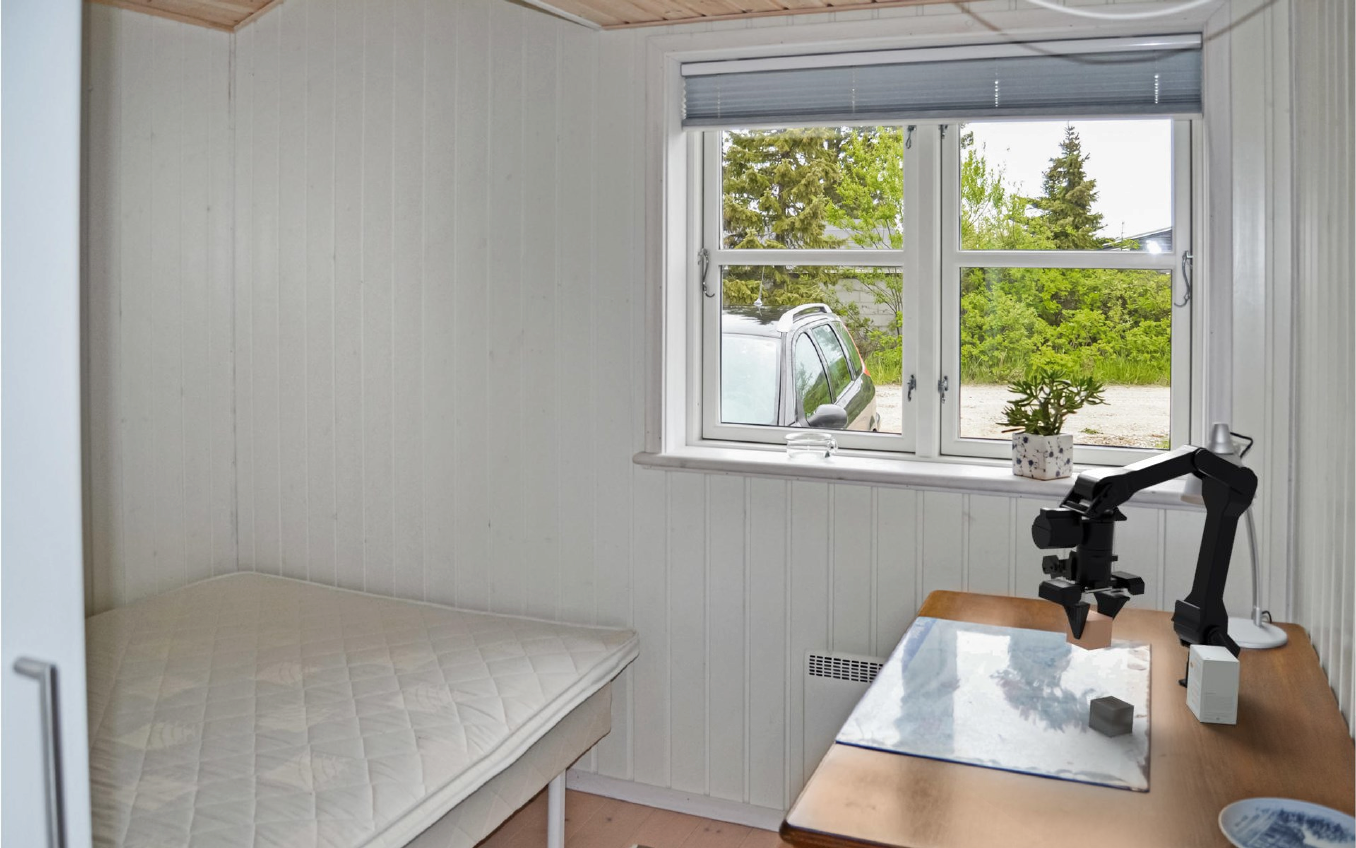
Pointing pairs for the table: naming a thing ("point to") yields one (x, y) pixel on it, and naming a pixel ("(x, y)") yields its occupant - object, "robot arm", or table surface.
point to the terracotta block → (1093, 632)
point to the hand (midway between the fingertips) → (1088, 637)
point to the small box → (1213, 684)
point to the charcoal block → (1111, 716)
